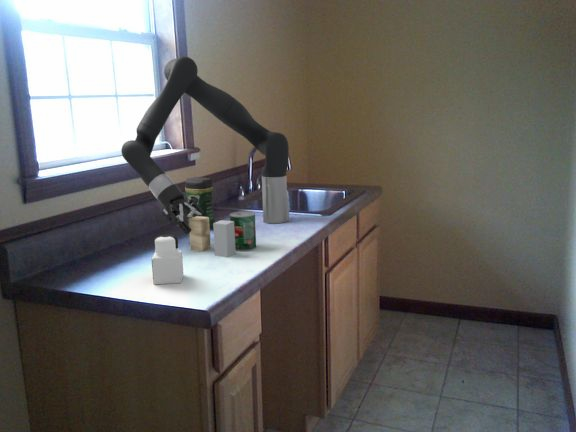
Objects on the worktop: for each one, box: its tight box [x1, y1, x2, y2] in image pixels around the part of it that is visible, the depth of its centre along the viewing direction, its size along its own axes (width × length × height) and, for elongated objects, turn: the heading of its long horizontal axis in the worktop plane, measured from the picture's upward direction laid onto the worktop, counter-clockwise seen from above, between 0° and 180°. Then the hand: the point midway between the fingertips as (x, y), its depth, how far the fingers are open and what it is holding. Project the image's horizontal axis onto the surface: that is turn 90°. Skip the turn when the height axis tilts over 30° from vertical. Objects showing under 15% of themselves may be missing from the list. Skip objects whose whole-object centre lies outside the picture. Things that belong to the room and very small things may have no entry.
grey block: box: [212, 219, 237, 258], centre depth 175 cm, size 4×4×10 cm
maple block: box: [189, 216, 212, 252], centre depth 182 cm, size 4×4×10 cm
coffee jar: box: [184, 176, 216, 230], centre depth 208 cm, size 10×8×19 cm
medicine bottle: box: [151, 233, 184, 285], centre depth 152 cm, size 7×7×12 cm
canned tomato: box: [229, 210, 257, 252], centre depth 182 cm, size 8×8×11 cm
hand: (197, 229), depth 182 cm, fingers open, 8 cm apart
